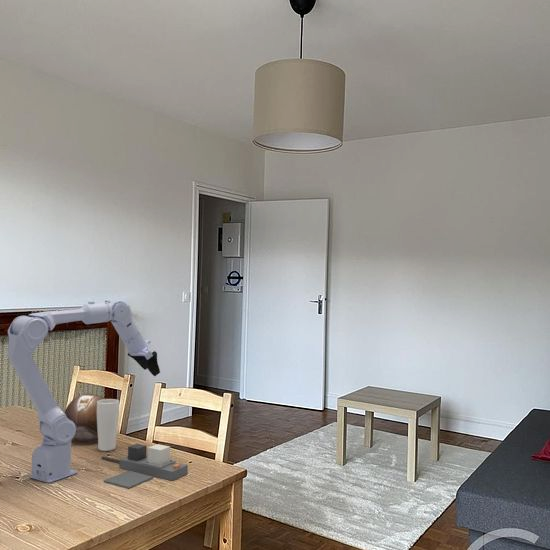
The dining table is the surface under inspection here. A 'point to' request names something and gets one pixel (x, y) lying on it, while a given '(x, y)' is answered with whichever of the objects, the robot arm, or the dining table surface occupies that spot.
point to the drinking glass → (107, 423)
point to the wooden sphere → (84, 416)
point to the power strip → (140, 464)
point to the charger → (159, 455)
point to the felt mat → (128, 479)
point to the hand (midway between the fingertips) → (152, 370)
